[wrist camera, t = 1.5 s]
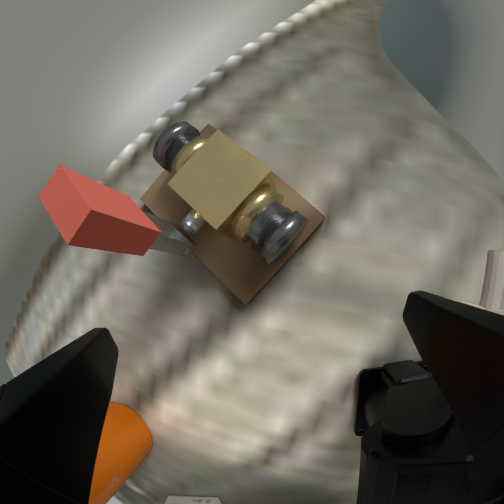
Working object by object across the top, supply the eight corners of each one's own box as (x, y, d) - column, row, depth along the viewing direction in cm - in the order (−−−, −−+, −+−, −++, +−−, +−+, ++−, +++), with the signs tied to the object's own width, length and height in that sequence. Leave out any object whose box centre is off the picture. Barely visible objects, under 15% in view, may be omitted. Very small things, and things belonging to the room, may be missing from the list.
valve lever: (205, 246, 21) (91, 209, 8) (191, 262, 21) (67, 245, 8) (179, 220, 22) (59, 164, 9) (166, 236, 22) (39, 196, 9)
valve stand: (324, 219, 22) (333, 201, 16) (247, 303, 22) (231, 313, 17) (211, 128, 24) (190, 94, 19) (145, 201, 25) (109, 183, 19)
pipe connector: (393, 361, 20) (446, 409, 10) (421, 244, 21) (490, 224, 11) (476, 371, 19) (538, 404, 9) (500, 268, 19) (571, 263, 9)
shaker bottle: (82, 415, 24) (-45, 478, 5) (115, 378, 24) (-51, 452, 4) (134, 471, 23) (31, 566, 3) (177, 443, 22) (56, 576, 3)
